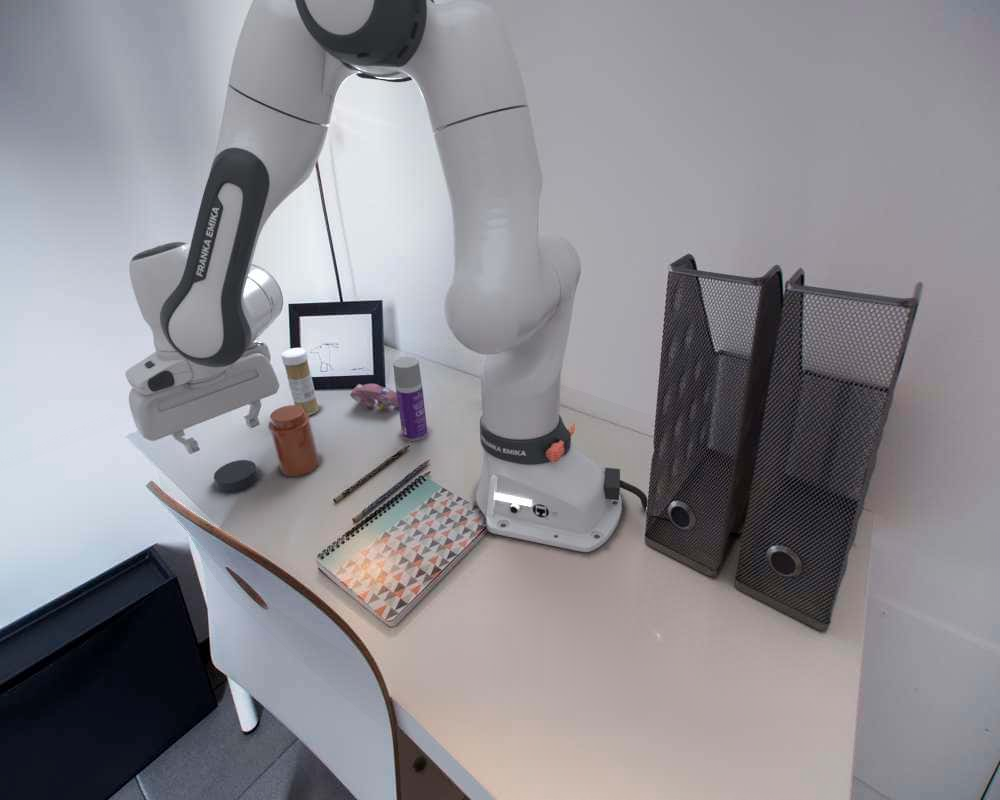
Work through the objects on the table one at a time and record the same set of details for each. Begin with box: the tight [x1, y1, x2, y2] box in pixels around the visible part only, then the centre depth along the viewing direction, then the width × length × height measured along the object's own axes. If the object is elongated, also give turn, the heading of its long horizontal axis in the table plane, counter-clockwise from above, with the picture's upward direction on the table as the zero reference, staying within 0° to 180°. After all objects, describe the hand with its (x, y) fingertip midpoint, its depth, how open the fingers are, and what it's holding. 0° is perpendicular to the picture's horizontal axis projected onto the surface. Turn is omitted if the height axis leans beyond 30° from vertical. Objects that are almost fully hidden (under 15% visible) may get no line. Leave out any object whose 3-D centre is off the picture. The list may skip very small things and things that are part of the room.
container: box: [392, 356, 428, 442], centre depth 96 cm, size 5×5×15 cm
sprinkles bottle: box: [280, 347, 320, 417], centre depth 105 cm, size 5×5×14 cm
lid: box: [213, 459, 259, 493], centre depth 88 cm, size 6×6×2 cm
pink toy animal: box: [350, 383, 398, 410], centre depth 108 cm, size 10×5×7 cm
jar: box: [268, 404, 321, 477], centre depth 89 cm, size 6×6×11 cm
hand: (224, 438), depth 84 cm, fingers open, 8 cm apart
